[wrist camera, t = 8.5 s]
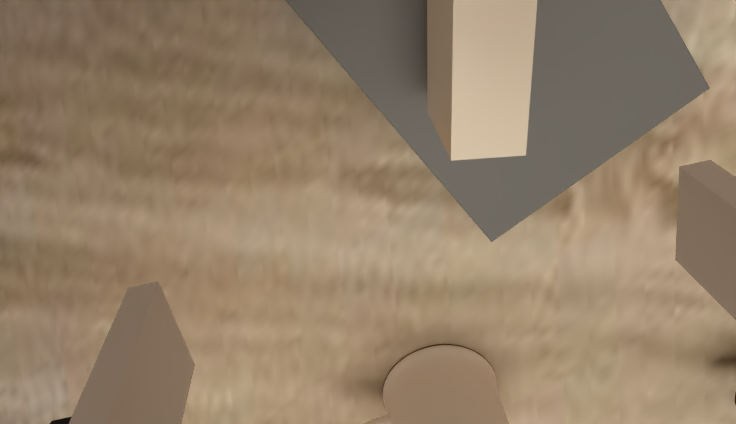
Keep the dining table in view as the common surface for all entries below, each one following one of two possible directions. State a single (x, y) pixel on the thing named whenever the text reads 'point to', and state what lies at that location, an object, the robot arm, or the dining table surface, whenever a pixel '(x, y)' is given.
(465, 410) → the mug
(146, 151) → the dining table surface
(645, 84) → the tuner board
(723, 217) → the robot arm
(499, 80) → the peg
